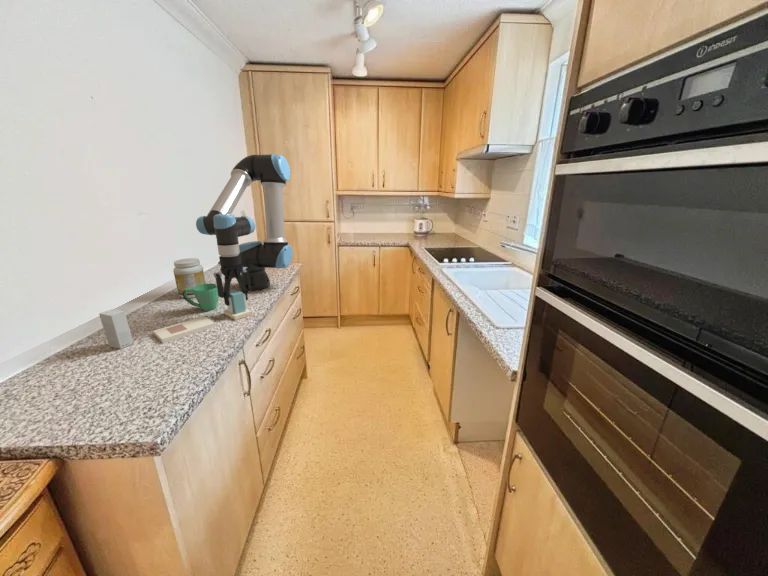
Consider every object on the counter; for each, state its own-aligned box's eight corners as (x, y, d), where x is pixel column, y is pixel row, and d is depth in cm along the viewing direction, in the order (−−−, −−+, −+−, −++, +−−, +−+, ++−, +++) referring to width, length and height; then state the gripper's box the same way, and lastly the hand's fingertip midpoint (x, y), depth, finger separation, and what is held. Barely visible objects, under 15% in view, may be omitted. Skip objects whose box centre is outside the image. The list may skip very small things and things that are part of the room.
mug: (225, 304, 141) (222, 283, 138) (216, 313, 132) (212, 290, 129) (191, 305, 140) (187, 284, 137) (180, 314, 130) (175, 291, 127)
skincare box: (134, 343, 107) (125, 311, 103) (120, 349, 103) (110, 316, 99) (122, 340, 109) (112, 308, 105) (108, 346, 105) (98, 313, 101)
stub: (240, 308, 136) (237, 287, 133) (252, 314, 130) (249, 293, 127) (224, 313, 131) (220, 292, 128) (235, 320, 125) (231, 297, 122)
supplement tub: (178, 293, 155) (171, 259, 149) (206, 289, 161) (200, 256, 156) (179, 300, 145) (171, 265, 140) (208, 295, 151) (202, 261, 146)
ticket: (206, 318, 126) (206, 315, 126) (217, 325, 120) (216, 322, 119) (153, 334, 113) (152, 330, 113) (163, 343, 107) (162, 339, 106)
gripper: (247, 250, 132) (254, 302, 139) (200, 257, 118) (211, 314, 126) (256, 252, 127) (263, 306, 134) (209, 260, 114) (219, 319, 121)
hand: (238, 309), depth 130 cm, fingers open, 5 cm apart
